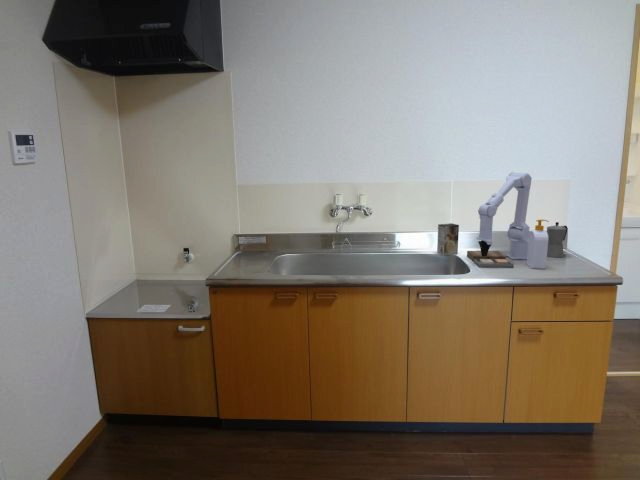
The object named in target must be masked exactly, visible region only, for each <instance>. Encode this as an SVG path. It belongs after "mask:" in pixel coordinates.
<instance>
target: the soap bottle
mask: <svg viewBox="0 0 640 480" xmlns="http://www.w3.org/2000/svg"><path fill="white" fill-rule="evenodd" d="M535 221H536V223H537V222H538V224H537V225H535V226H534V227H535V229H534V230H531V231H530V230H529V232H530V234H529V239H528V240H527V241H528V252H527V259H526V265H527V266H528V267H529V268H530V269H539V270H540V269H541V270H543V269H545V270H546V267H547V257H548V256H547V249H548V234H547V230H544V227H545V226H544V225H542V222H547V223H549V222H550V220H549V221H548V220H546V219H537V220H535Z"/></svg>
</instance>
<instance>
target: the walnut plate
mask: <svg viewBox="0 0 640 480" xmlns="http://www.w3.org/2000/svg"><path fill="white" fill-rule="evenodd" d="M466 257H467V258H468V259H469V260H470V261H472V262H473V263H474V259H507V256H506V255H504V254H503V253H502V252H500V251H499V250H488V253H487V256H482V255H481V250H467V251H466Z"/></svg>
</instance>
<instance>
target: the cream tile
mask: <svg viewBox="0 0 640 480" xmlns="http://www.w3.org/2000/svg"><path fill="white" fill-rule="evenodd" d="M480 264H493V261H492V260H491V259H480Z"/></svg>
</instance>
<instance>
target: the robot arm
mask: <svg viewBox="0 0 640 480" xmlns="http://www.w3.org/2000/svg"><path fill="white" fill-rule="evenodd" d="M532 179H533V178H532V177H531V174H529V173H527V172H526V173H525V172H523V173H521V172H515V171H514V172H513V171H512V172H510V173H508V175H507V176H506V178H505V182H504V184H503V185H502V186H501V187H500V189H499V190H498V192H494V193H492V195H491V197H489V199H488V200H487V201H486V202H485V203H484V204H481V205H480V206H479V208H478V210H477V213H478V216H479V219H480V221H479V234H478V237H476V239H477V240H479V241H477V242H478V244H479V249H480V251H481V255H482V256H487V253H488V251H490V248H491V247H492V245H493V241H492V240H493V236H492V235H493V234H492V233H493V223H494V222H493V221H494V216H496V214H497V211H498V208H499V207H500V205H501V204H502V203H503V202H504V197H506V196H507V195H508V193H509V192H511V190H512V189H515V190H516V191H517V197H516V203H515V204H516V206H515V211H514V219H513V222H511V223H510V224H509V227H508V229H507V234H506V236H507V238H508V240H509V241H510V242H509V251H508V253H509V254H506V255H505V256H506V257H508V258H509V259H511V260H527V252H528V241H529V234H530V225H528V224H527V222H526V221H527V214H528V213H527V212H528V206H529V205H528V204H529V199H530V198H529V197H530V193H531V192H530V190H531V186H532Z"/></svg>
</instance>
